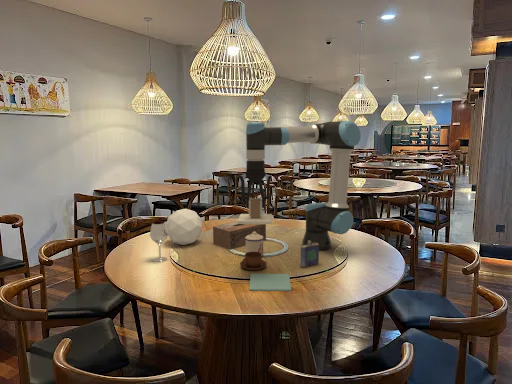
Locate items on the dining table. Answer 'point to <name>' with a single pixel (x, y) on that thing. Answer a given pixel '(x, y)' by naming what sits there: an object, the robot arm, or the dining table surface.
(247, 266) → the cup and saucer
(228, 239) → the tissue box cover
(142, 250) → the dining table surface
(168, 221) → the ball
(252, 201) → the lid
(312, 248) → the flask
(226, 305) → the dining table surface
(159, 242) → the wineglass
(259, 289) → the mat
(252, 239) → the teacup with lid
